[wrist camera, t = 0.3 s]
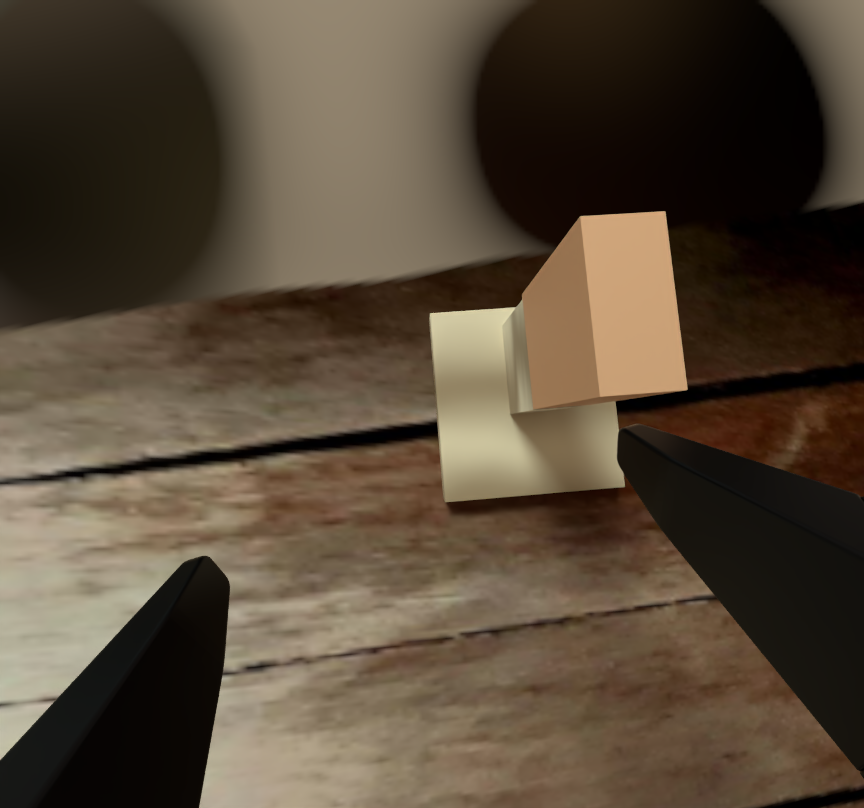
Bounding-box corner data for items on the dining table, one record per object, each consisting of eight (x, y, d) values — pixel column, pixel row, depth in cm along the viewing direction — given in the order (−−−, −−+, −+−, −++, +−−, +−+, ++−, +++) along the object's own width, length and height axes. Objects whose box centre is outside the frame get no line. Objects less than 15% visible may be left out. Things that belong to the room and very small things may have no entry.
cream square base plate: (611, 483, 22) (683, 503, 16) (443, 497, 22) (452, 523, 16) (592, 309, 23) (654, 265, 17) (429, 320, 23) (432, 280, 17)
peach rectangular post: (588, 404, 16) (687, 390, 10) (533, 409, 16) (600, 396, 10) (576, 290, 17) (665, 211, 11) (522, 294, 16) (580, 216, 10)
